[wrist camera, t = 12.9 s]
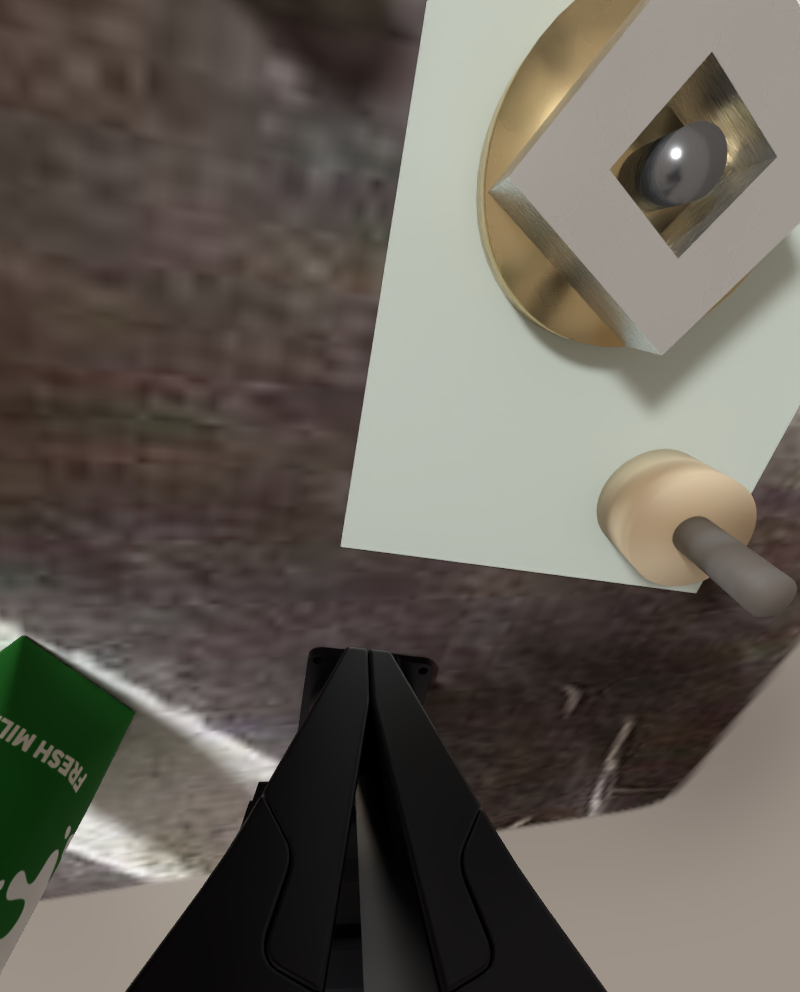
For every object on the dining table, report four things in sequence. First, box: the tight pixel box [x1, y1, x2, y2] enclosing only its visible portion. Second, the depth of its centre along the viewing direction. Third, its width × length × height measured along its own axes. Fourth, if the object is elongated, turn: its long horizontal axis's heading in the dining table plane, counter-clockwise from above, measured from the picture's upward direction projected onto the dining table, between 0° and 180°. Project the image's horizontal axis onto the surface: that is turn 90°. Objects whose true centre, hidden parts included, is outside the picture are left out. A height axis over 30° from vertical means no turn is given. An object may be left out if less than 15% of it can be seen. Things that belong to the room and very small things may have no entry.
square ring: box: [488, 0, 800, 355], centre depth 13 cm, size 7×7×2 cm
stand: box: [597, 449, 797, 617], centre depth 18 cm, size 5×5×7 cm
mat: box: [341, 0, 800, 593], centre depth 18 cm, size 21×18×1 cm
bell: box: [476, 0, 754, 347], centre depth 14 cm, size 10×10×4 cm
